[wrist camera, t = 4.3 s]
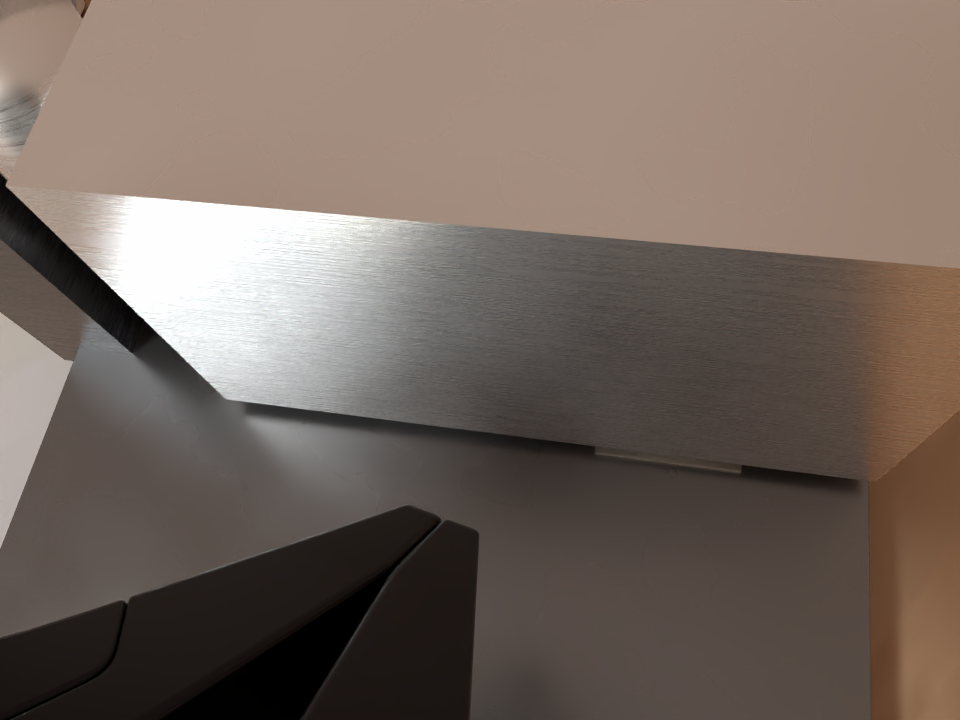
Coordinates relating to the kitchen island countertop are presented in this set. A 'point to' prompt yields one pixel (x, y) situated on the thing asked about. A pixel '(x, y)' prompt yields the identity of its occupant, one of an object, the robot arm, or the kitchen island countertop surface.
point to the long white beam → (522, 209)
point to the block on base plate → (452, 496)
